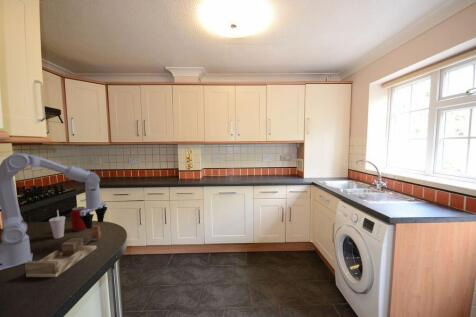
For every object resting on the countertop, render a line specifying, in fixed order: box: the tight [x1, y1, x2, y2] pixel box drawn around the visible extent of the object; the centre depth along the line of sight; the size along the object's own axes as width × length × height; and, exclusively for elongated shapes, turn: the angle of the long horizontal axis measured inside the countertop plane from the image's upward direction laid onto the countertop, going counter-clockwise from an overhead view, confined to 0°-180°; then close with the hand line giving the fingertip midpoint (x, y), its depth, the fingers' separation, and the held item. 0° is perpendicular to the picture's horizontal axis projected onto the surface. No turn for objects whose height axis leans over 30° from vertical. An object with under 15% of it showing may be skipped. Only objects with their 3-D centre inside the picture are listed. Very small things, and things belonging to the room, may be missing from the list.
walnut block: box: [61, 224, 102, 256], centre depth 93 cm, size 17×5×6 cm, turn 178°
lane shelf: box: [24, 245, 98, 278], centre depth 83 cm, size 20×11×5 cm, turn 178°
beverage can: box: [70, 206, 86, 232], centre depth 114 cm, size 7×7×12 cm
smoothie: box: [48, 209, 66, 239], centre depth 105 cm, size 6×6×14 cm
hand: (94, 225), depth 100 cm, fingers open, 7 cm apart
